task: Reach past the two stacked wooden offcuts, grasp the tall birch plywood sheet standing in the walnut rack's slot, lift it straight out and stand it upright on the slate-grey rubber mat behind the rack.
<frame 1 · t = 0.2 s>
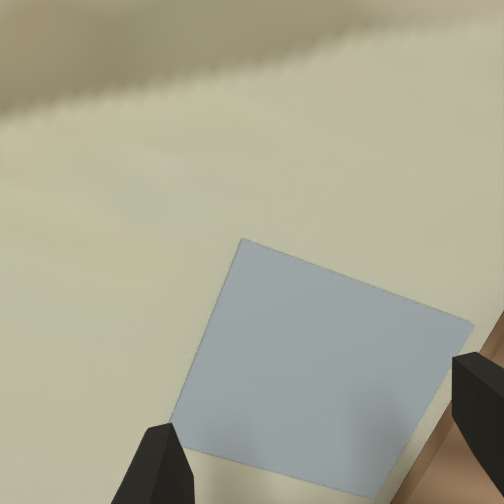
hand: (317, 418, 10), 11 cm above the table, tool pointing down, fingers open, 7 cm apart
slate mat: (313, 379, 22), on the table
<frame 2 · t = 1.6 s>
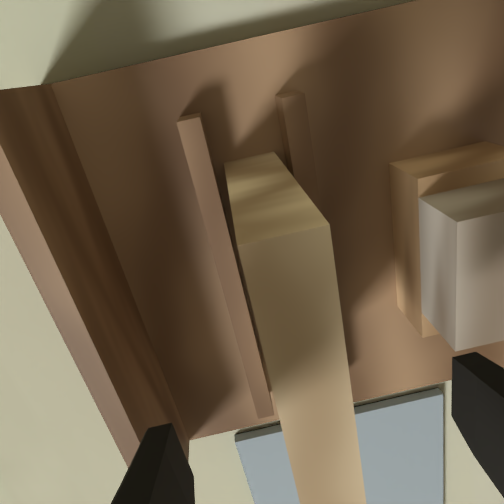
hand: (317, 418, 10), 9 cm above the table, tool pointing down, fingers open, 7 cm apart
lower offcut: (437, 230, 18), point 1 cm above the table, touching upper offcut, walnut rack
plywood sheet: (272, 268, 18), point 1 cm above the table, touching walnut rack
walnut rack: (332, 244, 19), on the table
upper offcut: (471, 247, 16), point 3 cm above the table, touching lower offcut
slate mat: (348, 483, 26), on the table
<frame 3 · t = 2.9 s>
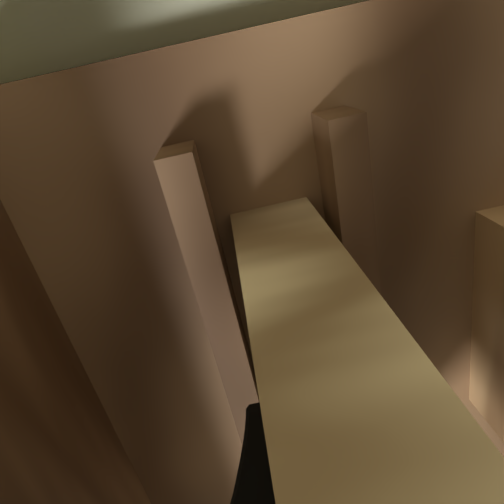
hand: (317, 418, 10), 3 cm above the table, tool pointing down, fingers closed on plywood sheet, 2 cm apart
plywood sheet: (298, 357, 13), point 1 cm above the table, touching gripper, walnut rack
walnut rack: (380, 316, 13), on the table
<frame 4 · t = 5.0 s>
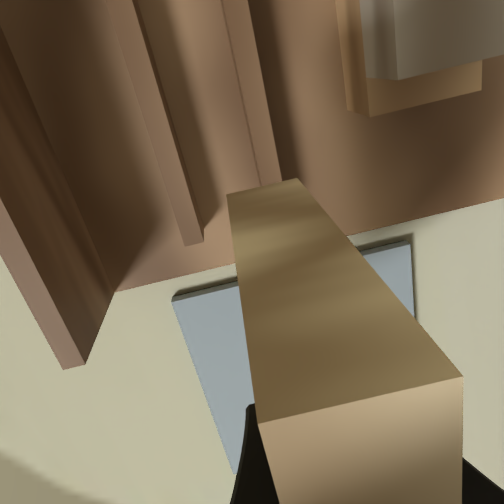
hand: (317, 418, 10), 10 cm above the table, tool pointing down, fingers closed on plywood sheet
plywood sheet: (291, 333, 13), point 7 cm above the table, touching gripper
walnut rack: (266, 30, 16), on the table
slate mat: (309, 367, 23), on the table
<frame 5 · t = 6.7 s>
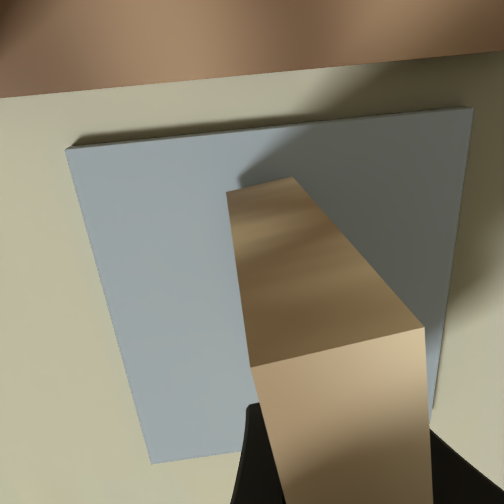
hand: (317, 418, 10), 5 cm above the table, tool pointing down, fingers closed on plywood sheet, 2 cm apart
plywood sheet: (288, 325, 14), point 1 cm above the table, touching gripper
slate mat: (283, 308, 15), on the table
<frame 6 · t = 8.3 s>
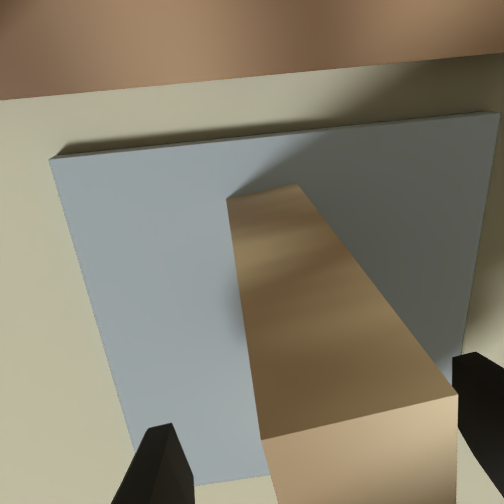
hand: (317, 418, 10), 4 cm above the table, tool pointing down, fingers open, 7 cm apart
plywood sheet: (290, 334, 13), resting on slate mat
slate mat: (289, 328, 14), on the table
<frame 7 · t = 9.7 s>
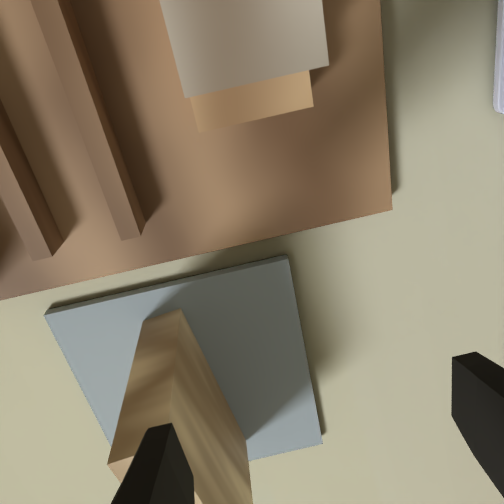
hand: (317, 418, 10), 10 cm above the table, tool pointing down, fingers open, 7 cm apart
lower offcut: (229, 11, 15), point 1 cm above the table, touching upper offcut, walnut rack
plywood sheet: (199, 386, 22), resting on slate mat
walnut rack: (112, 40, 15), on the table
slate mat: (200, 381, 23), on the table
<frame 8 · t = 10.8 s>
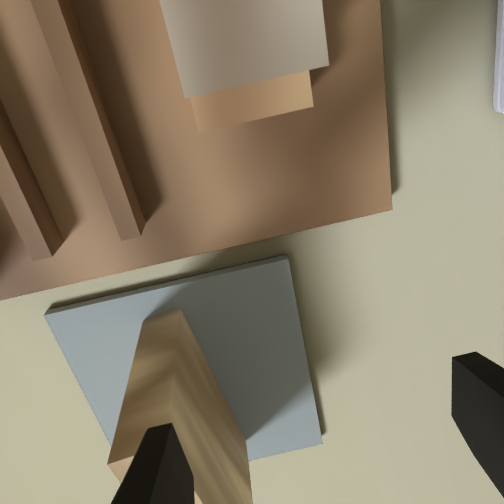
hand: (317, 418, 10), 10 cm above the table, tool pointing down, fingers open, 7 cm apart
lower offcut: (229, 11, 15), point 1 cm above the table, touching upper offcut, walnut rack
plywood sheet: (199, 386, 22), resting on slate mat
walnut rack: (112, 40, 15), on the table
slate mat: (200, 381, 23), on the table
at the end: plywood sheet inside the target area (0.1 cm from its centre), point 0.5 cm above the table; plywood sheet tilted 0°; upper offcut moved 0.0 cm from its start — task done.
